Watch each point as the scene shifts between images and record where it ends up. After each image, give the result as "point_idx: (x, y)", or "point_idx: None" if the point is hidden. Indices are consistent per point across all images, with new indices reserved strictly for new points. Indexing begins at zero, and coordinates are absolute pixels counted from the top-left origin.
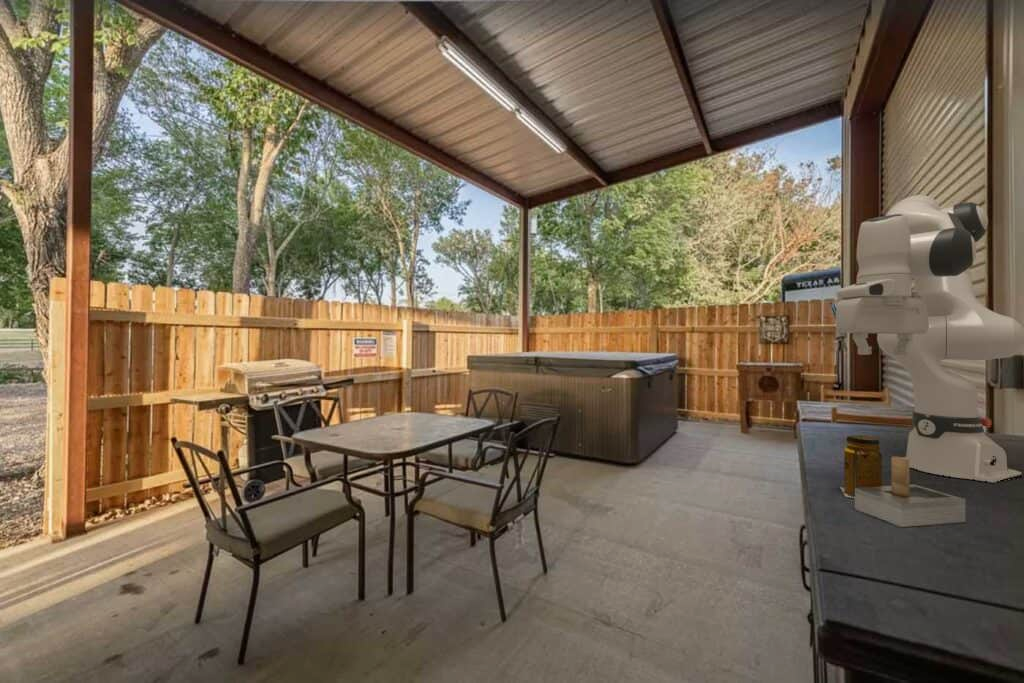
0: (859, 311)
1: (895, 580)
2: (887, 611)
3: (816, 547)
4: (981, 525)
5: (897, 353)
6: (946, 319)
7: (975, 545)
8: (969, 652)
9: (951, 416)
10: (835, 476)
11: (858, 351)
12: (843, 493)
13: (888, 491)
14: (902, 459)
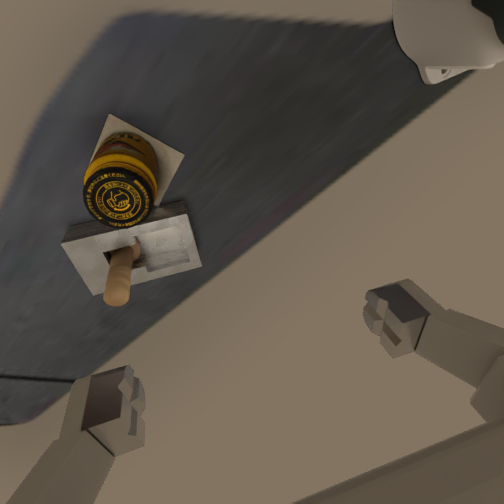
0: None
1: (9, 372)
2: None
3: None
4: (207, 256)
5: (371, 306)
6: None
7: (148, 303)
8: (9, 422)
9: None
10: (153, 18)
11: (72, 398)
12: (93, 153)
13: (113, 249)
14: (113, 304)
